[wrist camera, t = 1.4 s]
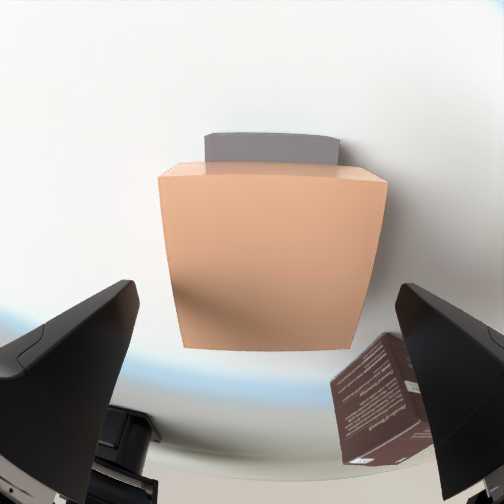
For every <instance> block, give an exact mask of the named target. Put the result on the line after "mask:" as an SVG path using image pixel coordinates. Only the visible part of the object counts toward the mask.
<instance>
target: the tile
mask: <svg viewBox="0 0 504 504" xmlns="http://www.w3.org/2000/svg"><path fill="white" fill-rule="evenodd" d="M158 185H159V196H160V206H161V215H162V223H163V231H164V239H165V246H166V253H167V260H168V266H169V273H170V279H171V285H172V290H173V296H174V301H175V307H176V312H177V317H178V322H179V327H180V332H181V336H182V341H183V346H184V348H194V349H209V350H229V351H316V350H336V349H350V347H351V344H352V341H353V338H354V335H355V332H356V328H357V325H358V322H359V318H360V315H361V312H362V308H363V305H364V301H365V297H366V294H367V290H368V286H369V282H370V278H371V274H372V270H373V265H374V261H375V257H376V252H377V247H378V242H379V238H380V232H381V227H382V222H383V216H384V210H385V204H386V197H387V191H388V182H386V181H385V180H383V179H381V178H379V177H378V176H376V175H374V174H372V173H371V172H369V171H367V170H365V169H363V168H361V167H351V166H339V165H327V164H311V163H291V162H250V161H234V162H193V163H179V164H177V165H176V166H174V167H173V168H171V169H169V170H168V171H166V172H165V173H163V174H162V175H160V176H158Z"/></svg>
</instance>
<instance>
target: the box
mask: <svg viewBox="0 0 504 504" xmlns="http://www.w3.org/2000/svg"><path fill="white" fill-rule="evenodd" d="M330 386H331V391H332V397H333V402H334V407H335V414H336V420H337V426H338V431H339V438H340V445H341V450H342V459H343V464H344V465H365V466H382V465H397V464H399V463H401V462H403V461H405V460H407V459H408V458H410V457H412V456H413V455H415V454H417V453H418V452H420V451H422V450H423V449H425V448H427V447H428V446H430V445H432V444H433V440H432V435H431V431H430V427H429V423H428V419H427V415H426V411H425V408H424V404H423V400H422V397H421V394H420V390H419V387H418V384H417V380H416V377H415V374H414V371H413V368H412V365H411V362H410V359H409V356H408V353H407V350H406V347H405V344H404V341H403V340H401V339H398V338H396V337H394V336H391V335H390V334H388V333H383V334H381V335H380V336H379V337H378V338H377V339H376V340H375V341H374V342H373V343H372V344H371V345H370V346H369V347H368V348H367V349H366V350H365V351H364V352H363V353H362V354H361V355H360V356H359V357H358V358H357V359H356V360H354V361H353V362H352V363H351V364H350V365H349V366H348V367H346V368H345V369H344V370H343V371H342V372H341V373H339V374H337V376H335V377H334V378H333V379H332V380H331V382H330Z"/></svg>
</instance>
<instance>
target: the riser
mask: <svg viewBox="0 0 504 504" xmlns="http://www.w3.org/2000/svg"><path fill="white" fill-rule="evenodd" d="M204 137H205V162H234V161H250V162H291V163H311V164H327V165H338V157H339V141H340V140H338V139H335V138H332V137H328V136H319V135H305V134H286V133H212V134H209V135H206V136H204Z"/></svg>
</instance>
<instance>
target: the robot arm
mask: <svg viewBox="0 0 504 504" xmlns="http://www.w3.org/2000/svg"><path fill="white" fill-rule="evenodd" d="M139 306H140V302H139V297H138V293H137V289H136V285H135V282H134V281H133V280H121V281H119V282H117V283H115V284H113V285H111V286H110V287H108V288H106V289H104V290H102V291H101V292H99V293H97V294H95V295H93V296H92V297H90V298H88V299H86V300H84V301H83V302H81V303H79V304H77V305H76V306H74V307H72V308H70V309H68V310H67V311H65V312H63V313H62V314H60V315H58V316H56V317H55V318H53V319H51V320H49V321H48V322H46V323H45V324H43V325H41V326H39V327H37V328H36V329H34V330H32V331H31V332H29V333H27V334H25V335H23V336H22V337H20V338H18V339H16V340H14V341H12V342H10V343H8V344H6V345H4V346H3V347H1V348H0V504H55V502H53V501H54V497H55V494H56V493H58V494H60V496H59V497H60V498H63V499H64V500H66V504H157V495H158V481H157V480H154V479H149V478H146V477H143V476H142V472H143V467H144V463H145V459H146V455H147V451H148V447H149V443H150V441H152V442H157V443H160V442H161V438H160V436H159V434H158V433H157V431H156V430H155V428H154V426H153V425H152V423H151V421H150V420H149V418H148V416H147V415H145V414H142V413H137V412H132V411H128V410H123V409H119V408H115V407H111V406H109V403H110V400H111V397H112V394H113V391H114V387H115V384H116V381H117V378H118V375H119V373H120V370H121V367H122V364H123V361H124V358H125V356H126V353H127V350H128V347H129V344H130V341H131V337H132V333H133V329H134V325H135V321H136V318H137V314H138V310H139ZM395 310H396V314H397V317H398V321H399V325H400V329H401V333H402V337H403V340H404V344H405V347H406V350H407V353H408V356H409V359H410V362H411V365H412V368H413V371H414V374H415V377H416V380H417V384H418V387H419V390H420V394H421V397H422V400H423V404H424V408H425V411H426V415H427V419H428V423H429V427H430V431H431V435H432V440H433V444H434V448H435V454H436V459H437V465H438V470H439V475H440V482H441V488H442V497H443V500H444V501H445V500H447V499H449V498H451V497H453V496H455V495H457V494H459V493H461V492H463V491H465V490H467V489H468V488H470V487H472V486H474V485H475V484H477V483H479V482H481V481H482V480H483V482H484V485H485V489H484V490H482V491H481V492H479V493H477V494H476V495H474V496H472V497H471V498H469V499H468V501H467V503H466V504H504V335H502V334H500V333H499V332H497V331H495V330H494V329H492V328H491V327H489V326H486V324H484V323H482V322H481V321H479V320H477V319H476V318H474V317H472V316H470V315H469V314H467V313H465V312H464V311H462V310H460V309H459V308H457V307H455V306H453V305H452V304H450V303H448V302H446V301H445V300H443V299H441V298H439V297H437V296H436V295H434V294H432V293H430V292H429V291H427V290H425V289H423V288H421V287H419V286H418V285H416V284H414V283H404V284H402V285H401V288H400V291H399V294H398V297H397V300H396V303H395ZM92 468H93V469H92ZM94 469H95V470H94ZM96 470H97V471H96ZM98 471H100V472H98ZM101 472H102V473H101ZM103 473H104V474H103ZM105 474H106V475H105ZM107 475H109V476H107ZM110 476H111V477H110ZM112 477H114V478H112ZM115 478H116V479H115ZM117 479H119V480H121V481H119V480H117ZM122 481H124V482H122ZM125 482H127V483H129V484H127V483H125ZM130 484H132V485H130ZM133 485H135V486H133ZM136 486H137V487H136ZM139 487H140V488H139Z"/></svg>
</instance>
